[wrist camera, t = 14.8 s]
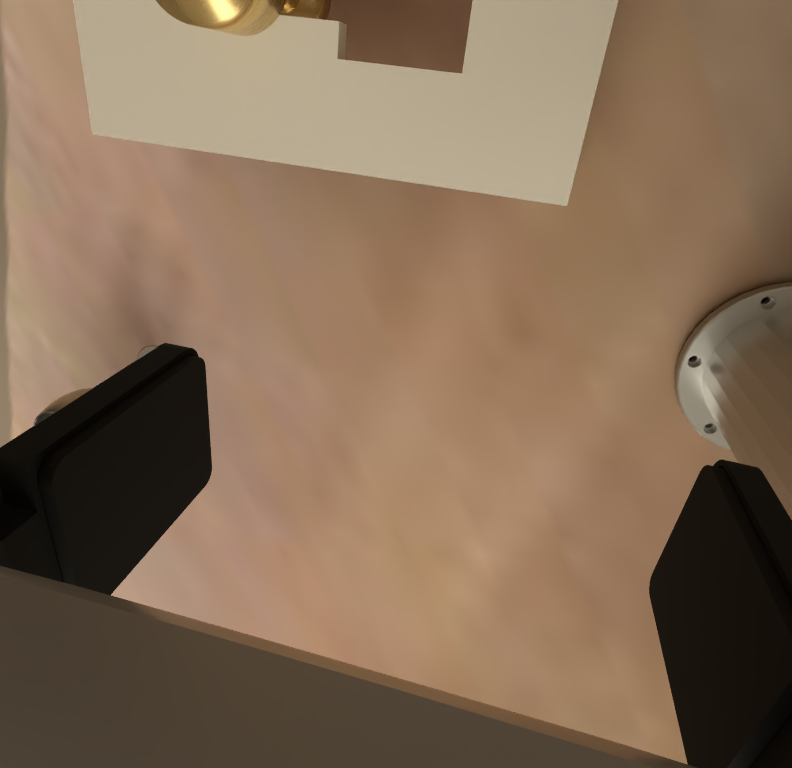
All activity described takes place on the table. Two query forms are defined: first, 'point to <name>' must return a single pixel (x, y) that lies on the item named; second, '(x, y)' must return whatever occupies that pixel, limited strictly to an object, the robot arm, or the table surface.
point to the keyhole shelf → (357, 94)
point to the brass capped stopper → (242, 13)
